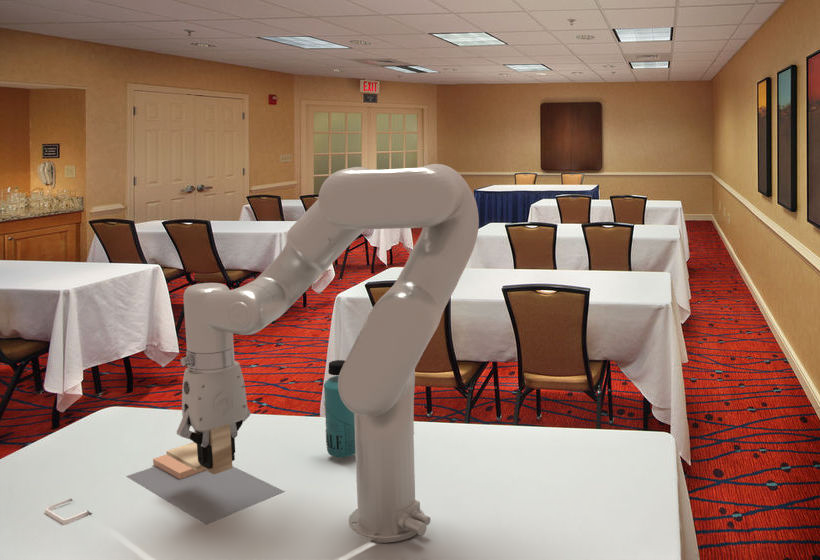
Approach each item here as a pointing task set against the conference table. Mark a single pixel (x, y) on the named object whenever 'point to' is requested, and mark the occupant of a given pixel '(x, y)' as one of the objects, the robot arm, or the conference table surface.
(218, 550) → the conference table surface
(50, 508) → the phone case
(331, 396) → the beverage bottle
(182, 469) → the tile
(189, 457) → the stepped wooden block
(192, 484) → the slate board
